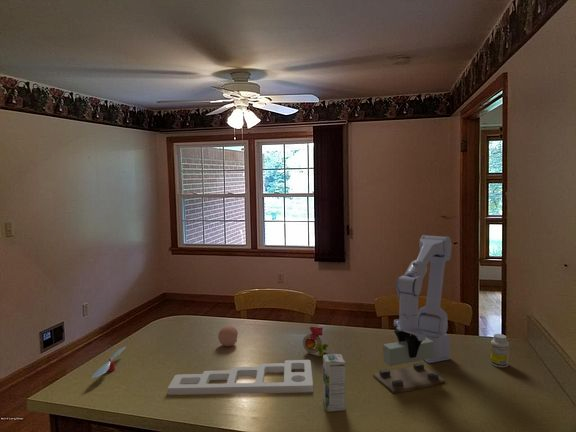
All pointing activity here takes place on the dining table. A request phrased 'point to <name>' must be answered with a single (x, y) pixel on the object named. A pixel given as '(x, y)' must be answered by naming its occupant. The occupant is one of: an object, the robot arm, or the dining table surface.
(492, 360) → the supplement bottle
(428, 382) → the cradle board
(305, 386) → the holder
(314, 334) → the bird rattle
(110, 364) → the propeller
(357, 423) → the dining table surface
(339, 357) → the syrup box
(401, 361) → the block
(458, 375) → the dining table surface
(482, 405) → the dining table surface
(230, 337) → the toy ball
